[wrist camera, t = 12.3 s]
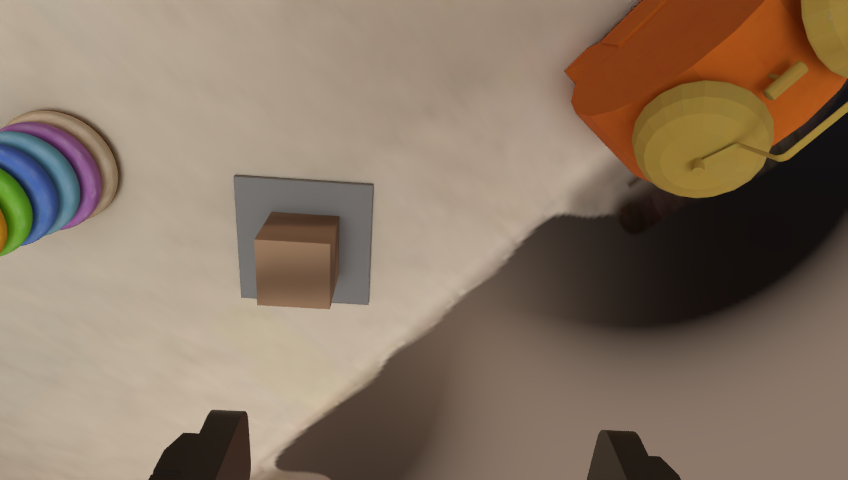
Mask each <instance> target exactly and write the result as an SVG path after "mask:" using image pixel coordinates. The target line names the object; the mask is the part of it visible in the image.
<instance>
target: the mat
mask: <svg viewBox="0 0 848 480" xmlns="http://www.w3.org/2000/svg"><path fill="white" fill-rule="evenodd" d="M234 191H235V206H236V222H237V237H238V253H239V268H240V284H241V298H257V287H256V267H255V248H254V239H255V237H256V236H257V234H258V232H259V231H260V229H261V228H262V226H263V225H264V223H265V221H266V220H267V218H268V217H269V215H270V213H271V212H282V213H298V214H313V215H329V216H339V276H338V280H337V283H336V287H335V291H334V295H333V299H332V302H331V303H345V304H362V305H368V303H369V278H370V253H371V228H372V202H373V184H365V183H350V182H334V181H319V180H304V179H289V178H274V177H258V176H243V175H235V176H234Z"/></svg>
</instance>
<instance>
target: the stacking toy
mask: <svg viewBox="0 0 848 480" xmlns="http://www.w3.org/2000/svg"><path fill="white" fill-rule="evenodd" d="M117 185H118V171H117V166H116V162H115V159H114V157H113V154H112V152H111V150H110V149H109V147H108V146H107V144H106V143H105V141H104V140H103V139H102V138H101V137H100V135H99V134H98V133H97V132H95V131H94V130H93V129H92V128H91V127H89V126H88V125H87V124H85V123H83V122H82V121H80V120H78V119H76V118H74V117H72V116H69V115H67V114H63V113H59V112H54V111H35V112H30V113H26V114H23V115H20V116H18V117H17V118H15V119H14V120H12V121H11V122H10V123H8V124H7V125H6V127H4V128H2V129H0V256H2V255H5V254H8V253H10V252H12V251H14V250H15V249H17V248H18V247H19V246H23V245H27V244H30V243H33V242H35V241H37V240H39V239H40V238H42V237H43V236H45V235H48V234H51V233H54V232H56V231H58V230H63V229H67V228H71V227H74V226H76V225H78V224H80V223H82V222H83V221H85V220H86V219H88V218H91V217H93V216H95V215H97V214H99V213H100V212H101V211H103V210H104V209H105V208H106V207H107V206H108V205H109V204H110V202H111V201H112V199H113V197H114V195H115V193H116V190H117Z"/></svg>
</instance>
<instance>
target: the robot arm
mask: <svg viewBox="0 0 848 480" xmlns="http://www.w3.org/2000/svg"><path fill="white" fill-rule="evenodd" d="M250 471H251V457H250V442H249V427H248V416H247V413H246V412H245V411H226V410H212V411H210V413H209V414H208V416H207V418H206V420H205V422H204V425H203V427H202V429H201V431H200V433H199V434H196V433H183V434H182V435H181V436H180V437H178V438H177V439H176V440H175V441H174V442H173V443H172V444H171V445H170V446H168V447H167V448H166V449H165V450H164V452H163V454H162V455H161V457H160V459H159V461H158V463H157V465H156V467H155V469H154V470H153V475H151V476H150V478H149V480H249V479H250ZM587 480H681V479H680V477H679V475H678V474H677V473H676V472H675V471H674V470H673V469H672V468H671V467H670V466H669V465H668V464H667V463H666V462H665V461H664V460H663V459H662V458H661V457H657V456H648V454H647V452H646V450H645V448H644V445H643V444H642V442H641V439H640V438H639V436H638V434H637V433H636V432H633V431H612V430H601V431H600V433H599V435H598V438H597V441H596V445H595V449H594V453H593V458H592V461H591V465H590V469H589V473H588V477H587Z"/></svg>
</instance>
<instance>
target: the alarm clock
mask: <svg viewBox="0 0 848 480" xmlns="http://www.w3.org/2000/svg"><path fill="white" fill-rule="evenodd" d="M564 72H565V73H566V74H567V75H568V76H569V77H570V78H571V79H572V80H573V82H574V83H575V88H574V92H573V96H572V100H571V103H572V105H573V108H574V110H575V112H576V114H577V115H578V116H579V117H580V118H581V119H582V120H583V121H584V122H585V123H586V124H587V125H588V126H589V128H590V129H591V130H592V131H593V132H594V133H595V134H596V135H597V136H598V137H599V138H600V139H601V140H602V141H603V142H604V143H605V145H606V146H607V147H608V148H609V149H610V150H611V151H612V152H613V153H614V154H615V155H616V156H617V157H618V158H619V159H620V160H621V161H622V163H623V164H624V165H625V166H626V167H627V168H628V169H629V170H630V171H631V172H632V173H633V174H634V175H635V176H637V177H640V178H642V179H644V180H647V181H649V182H652V183H653V184H655V185H656V186H657V187H658V188H660V189H663V190H665V191H668V192H670V193H673V194H675V195H679V196H685V197H692V198H700V197H712V196H716V195H719V194H722V193H725V192H729V191H732V190H735V189H736V188H738V187H739V186H741V185H743V184H744V183H746V182H748V181H750V180H751V179H752V178H753V177H754V176H755V174H756V173H757V172H758V171H759V170H760V169H761V168H762V167H763V165H764V163H765V160H766V158H767V157H768V158H771V159H773V160H776V161H785V160H788V159H790V158H791V157H792V156H793V155H795V154H796V153H797V152H798V151H800V150H801V149H802V148H803V147H805V146H806V145H807V144H808V143H809V142H810V141H812V140H813V139H814V138H815V137H817V136H818V135H819V134H821V133H822V132H823V131H824V130H826V129H827V128H828V127H829V126H830V125H832V124H833V123H834V122H835V121H837V120H838V119H839V118H840V117H842V116H843V115H844V114H845V113H847V112H848V102H847V103H846V104H845V105H843V106H842V107H841V108H839V109H838V110H837V111H836V112H834V113H833V114H832V115H831V116H830V117H829V118H827V119H826V120H825V121H823V122H822V123H821V124H820V125H819V126H817V127H816V128H815V129H814V130H812V131H811V132H810V133H809V134H808V135H806V136H805V137H804V138H803V139H801V140H800V141H799V142H798V143H796V144H795V145H794V146H793V147H792V148H790V149H789V150H788V151H787V152H785V153H784V154H782V155H777V156H775V155H772V154H770V153H769V151H770V148H771V147H772V146H773V145H775V144H776V143H778V142H779V141H780V140H782V139H783V138H785V137H786V136H787V135H789V134H790V133H792V132H793V131H795V130H796V129H797V128H799V127H800V126H802V125H803V124H804V123H806V122H807V121H808V120H809V119H810V118H811V117H812V116H813V115H814V114H815V113H816V112H817V111H818V110H819V109H820V108H821V107H822V106H823V105H824V104H825V103H826V102H827V101H828V100H829V99H830V98H831V97H833V96H834V95H835V94H836V93H837V92H838V91H839V90H840V89H841V87H842V86H843V84H844V83H845V81H846V80H847V78H848V0H642V1H641V2H640V3H639V4H638V5H637V6H636V7H635V8H634V9H633V10H632V11H631V12H630V13H629V14H628V15H627V16H626V17H625V18H624V19H623V20H622V21H621V22H620V23H619V24H618V25H617V26H616V27H615V28H614V29H613V30H612V31H611V32H610V33H609V34H608V35H607V36H606V37H605V38H604V39H603V40H602V41H601V42H600V43H598V44H595V45H593V46H591V47H589V48H587V49H586V50H585V51H584V52H583V53H582V54H581V55H580V56H579V57H578V58H577V59H576V60H575V61H574V62H573V63H572V64H571V65H570V66H569V67H568V68H567V69H566V70H565V71H564Z"/></svg>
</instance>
